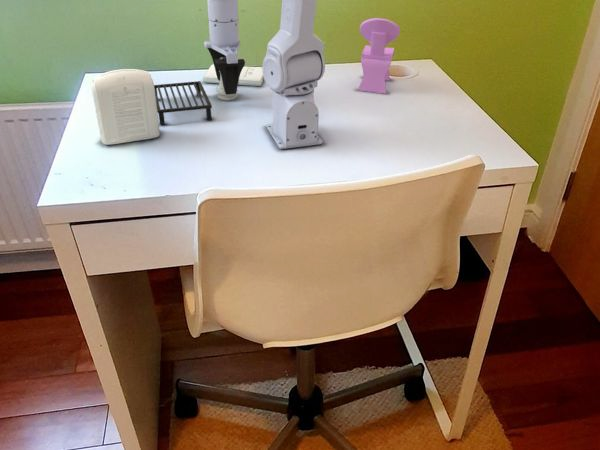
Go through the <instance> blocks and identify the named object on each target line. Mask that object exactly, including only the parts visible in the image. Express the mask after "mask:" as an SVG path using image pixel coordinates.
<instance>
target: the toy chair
mask: <svg viewBox="0 0 600 450" xmlns="http://www.w3.org/2000/svg"><path fill="white" fill-rule="evenodd" d="M359 33H360V35H361V36H362V37H363V38H364V39H365V40H366V41H367V42H369V44H370V45H367V44H365V45H364V48H363V50H362V52H361V57H360V64H361V68H362V80H361V82H360V85H359V86H358V88H357V91H359V92H368V93H378V94H385V95H386V94H387V88H386V82H387V81H388V82H390V81H391V77H390V72H389V68H390V67H391V65H392V60H393V57H394V55H395V47H386V46H387V45H389V44H390V43H392V42H393V41H395V40H396V39H398V37H399V36H400V33H401V28H400V26H399V25H398V24H397V23H396V22H394V21H392V20H390V19H388V18H379V17H374V18H369V19H366V20H364V21H362V22H361V24H360V25H359ZM385 81H386V82H385Z"/></svg>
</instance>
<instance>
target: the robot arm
mask: <svg viewBox="0 0 600 450" xmlns="http://www.w3.org/2000/svg"><path fill="white" fill-rule="evenodd" d="M206 1H207V2H206V4H207V19H208V33H209V40H205V41H203V46H204V48H206V49H207V50H208V52H209V54H210V57H211V59H212V63H213V64H214V67H215V71H216V75H217V78H218V80H219V81H220V74H221V77H222V82H223V87H224V91H225V93H226V95H228V94H236V91H237V92H238V86H239V85H238V81H239V77H240V73H241V71H242V69H243V67H245V65H246V60H245V59H244V58H239V55H238V52H239V50H240V47H241V40H240V28H239V27H240V26H239V25H240V24H239V2H238V1H239V0H206ZM317 2H318V0H282V1H281V12H280V22H279V23H280V24H279V25H280V26H279V30H278V31H277V32H276V34H275V35H274V36H273V37H272V38H271V39H270V41H269V42H267V47H266V54H265V56H264V58H263V61H262V67H261V68H262V72H263V77H264V79H263V81H264V82H265V84H266V85H267V86H268V89H270V90H272V123H268V124H266V126H265V127H266V129H267V131H268V132H269V134H270V135H271V137H272V139H273V140H274V142H275V144H276V145H277V147H278V149H279V150H286V149H293V148H302V147H311V146H316V145H318V146H319V145H322V144H323V139H322V138H321V137H320V136H319V119H320V117H319V116H320V112H319V108H318V106H317V105H316V103H315V99H314V98H315V88H317V87H318V83H319V81H320V80H321V79H322V78H323V77H324V74H325V72H326V61H325V60H326V59H325V55H324V53H325V51H324V50H325V43H324V42H323V41H322V39H321V38H320V37H319V36H317V35H316V34H315V32H314V28H315V19H316V10H317ZM222 57H223V59H220V58H222ZM219 71H220V72H219Z"/></svg>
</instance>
